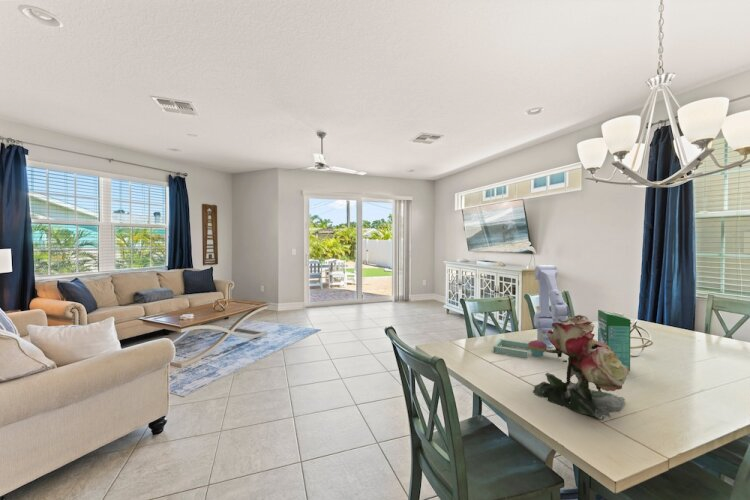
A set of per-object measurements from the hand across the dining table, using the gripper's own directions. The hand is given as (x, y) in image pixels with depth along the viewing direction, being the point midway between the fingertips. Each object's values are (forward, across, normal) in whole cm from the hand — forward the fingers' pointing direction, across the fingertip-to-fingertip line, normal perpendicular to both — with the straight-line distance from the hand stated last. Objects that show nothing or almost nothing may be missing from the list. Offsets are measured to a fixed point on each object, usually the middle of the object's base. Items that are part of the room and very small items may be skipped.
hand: (559, 356), depth 160 cm
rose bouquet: (+1, +11, -40) cm, 42 cm away
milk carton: (+1, +21, +1) cm, 21 cm away
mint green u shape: (+1, -21, 0) cm, 21 cm away
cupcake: (+1, -10, 0) cm, 10 cm away
